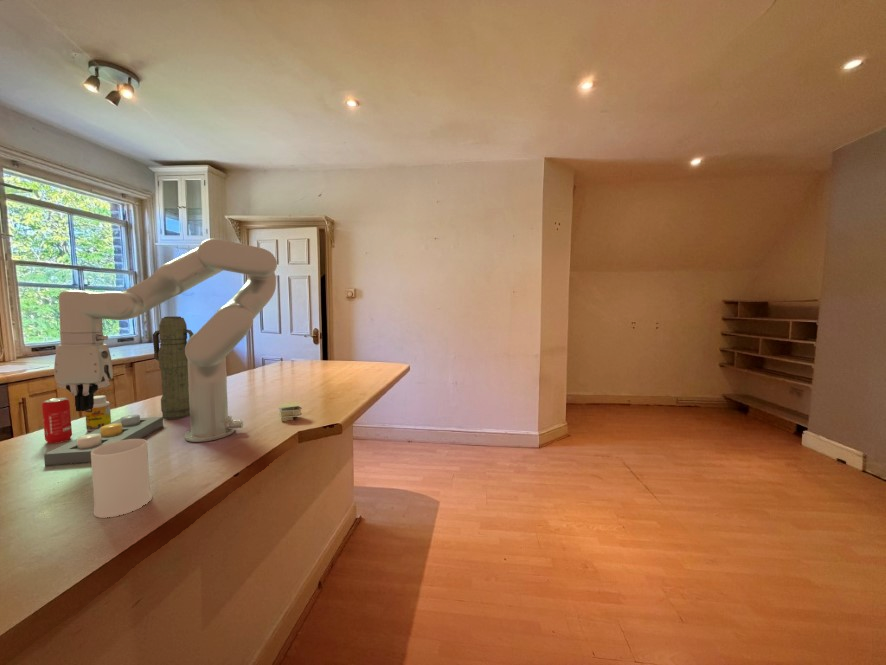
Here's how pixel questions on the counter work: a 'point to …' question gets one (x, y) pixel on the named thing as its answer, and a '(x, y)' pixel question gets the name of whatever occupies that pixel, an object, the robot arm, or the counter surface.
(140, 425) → the panel
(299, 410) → the stacked layers on plate
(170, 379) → the thermos
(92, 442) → the ivory button
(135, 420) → the slate button
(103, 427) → the amber button
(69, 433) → the beverage can
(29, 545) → the counter surface
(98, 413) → the supplement bottle
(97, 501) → the white oval container
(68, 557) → the counter surface
